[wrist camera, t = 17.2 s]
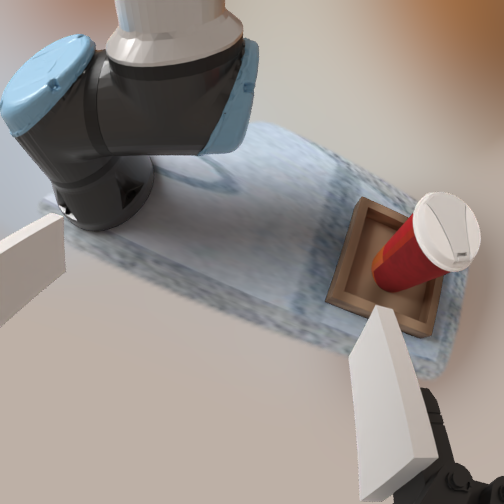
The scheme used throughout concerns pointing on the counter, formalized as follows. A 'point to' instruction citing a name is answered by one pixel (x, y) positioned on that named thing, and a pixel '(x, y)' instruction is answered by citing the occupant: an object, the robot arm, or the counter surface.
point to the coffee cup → (428, 244)
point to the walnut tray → (362, 282)
